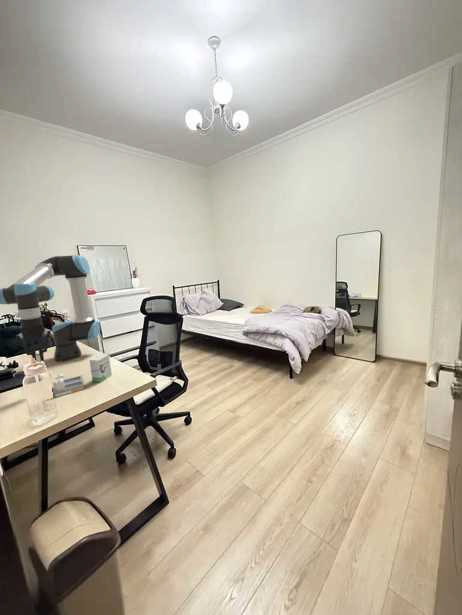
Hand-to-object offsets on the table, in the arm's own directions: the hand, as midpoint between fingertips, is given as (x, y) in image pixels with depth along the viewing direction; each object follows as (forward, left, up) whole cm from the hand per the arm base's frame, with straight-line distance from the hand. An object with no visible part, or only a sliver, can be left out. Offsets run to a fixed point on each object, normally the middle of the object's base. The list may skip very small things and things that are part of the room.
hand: (40, 367), depth 115 cm
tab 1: (0, +6, -10) cm, 12 cm away
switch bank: (+3, +10, -12) cm, 16 cm away
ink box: (+3, +24, -12) cm, 27 cm away
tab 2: (+7, +6, -10) cm, 14 cm away
